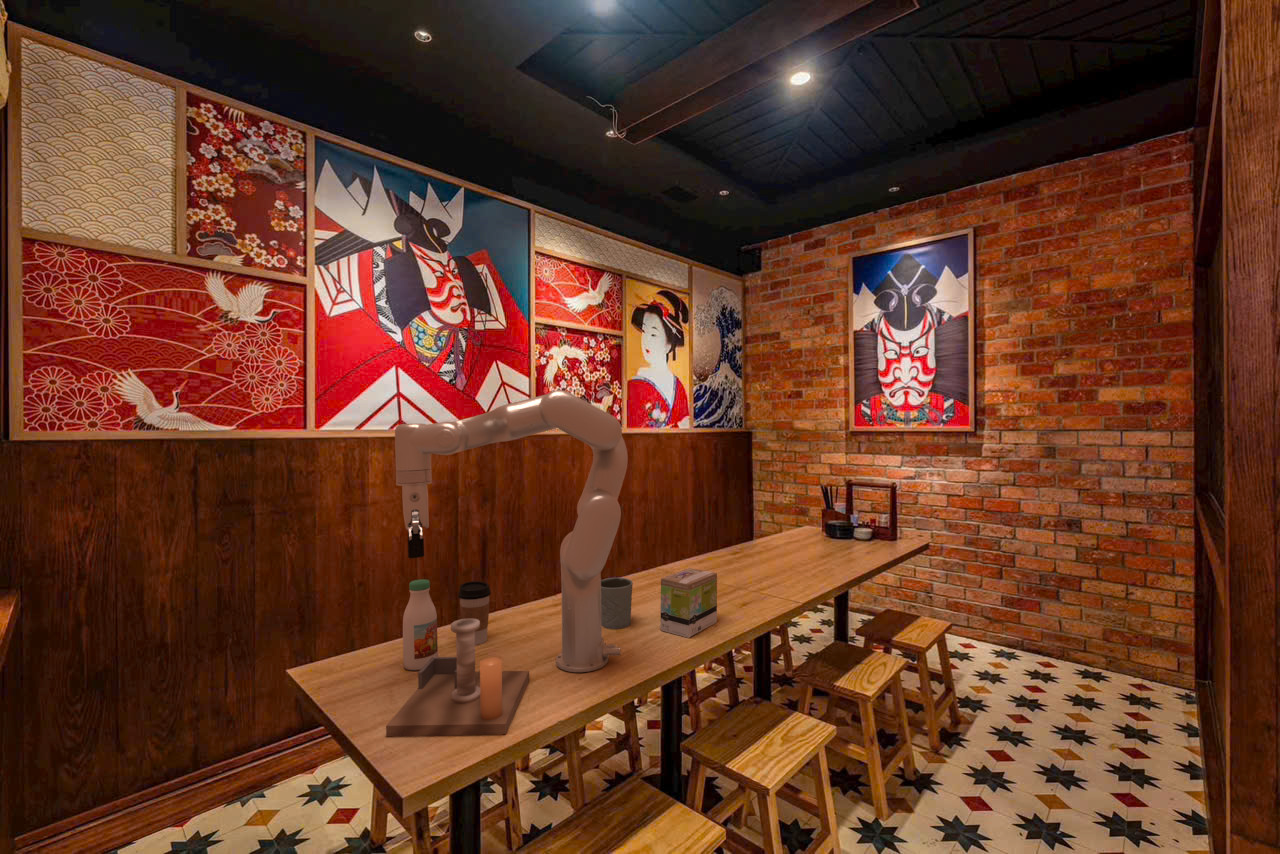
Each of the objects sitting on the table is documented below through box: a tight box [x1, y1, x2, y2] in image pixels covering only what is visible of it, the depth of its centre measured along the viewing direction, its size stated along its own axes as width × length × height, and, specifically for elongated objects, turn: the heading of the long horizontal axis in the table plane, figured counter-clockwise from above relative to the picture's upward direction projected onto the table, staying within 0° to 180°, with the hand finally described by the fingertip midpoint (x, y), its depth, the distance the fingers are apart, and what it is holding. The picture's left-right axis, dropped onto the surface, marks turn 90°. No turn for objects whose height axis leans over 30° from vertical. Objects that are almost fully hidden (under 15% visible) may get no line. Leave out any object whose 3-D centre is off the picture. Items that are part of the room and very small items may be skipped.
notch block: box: [417, 656, 457, 689], centre depth 119 cm, size 8×8×4 cm
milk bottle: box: [402, 579, 439, 671], centre depth 132 cm, size 8×8×20 cm
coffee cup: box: [457, 580, 492, 646], centre depth 146 cm, size 8×8×15 cm
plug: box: [479, 656, 503, 720], centre depth 104 cm, size 4×4×10 cm
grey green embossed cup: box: [601, 577, 634, 630], centre depth 157 cm, size 10×10×12 cm
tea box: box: [659, 567, 718, 639], centre depth 154 cm, size 15×10×15 cm, turn 143°
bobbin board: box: [385, 618, 530, 738], centre depth 112 cm, size 22×22×17 cm
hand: (416, 552), depth 124 cm, fingers open, 9 cm apart
